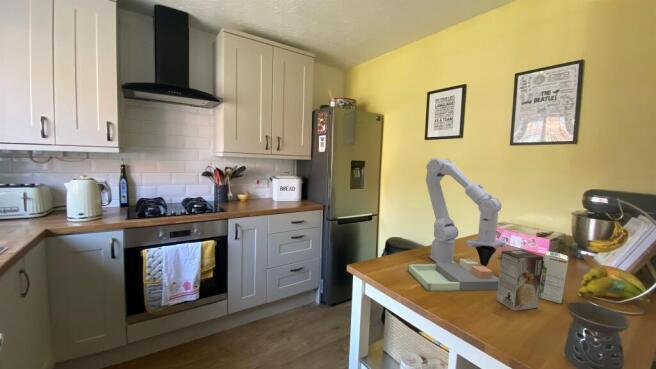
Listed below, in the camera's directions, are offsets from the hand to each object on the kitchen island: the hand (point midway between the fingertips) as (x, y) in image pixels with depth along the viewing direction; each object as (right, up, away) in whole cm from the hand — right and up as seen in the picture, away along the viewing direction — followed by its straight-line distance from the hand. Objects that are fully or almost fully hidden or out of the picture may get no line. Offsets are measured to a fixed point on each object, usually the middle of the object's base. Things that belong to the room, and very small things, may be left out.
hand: (483, 264), depth 104 cm
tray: (-22, -4, -6) cm, 23 cm away
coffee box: (-2, -6, -20) cm, 21 cm away
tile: (-6, -1, -1) cm, 6 cm away
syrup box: (+13, -6, -15) cm, 21 cm away
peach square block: (-5, -2, -8) cm, 9 cm away
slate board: (-9, -4, -4) cm, 11 cm away
